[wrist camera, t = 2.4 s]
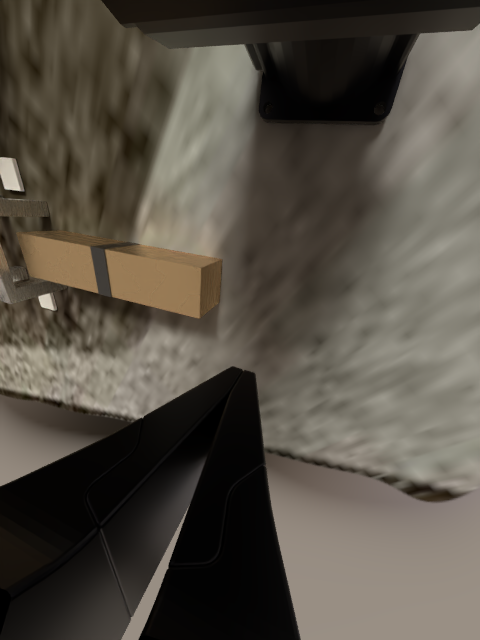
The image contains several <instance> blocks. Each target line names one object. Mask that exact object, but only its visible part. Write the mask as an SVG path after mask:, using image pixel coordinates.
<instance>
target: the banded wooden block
mask: <svg viewBox="0 0 480 640" xmlns="http://www.w3.org/2000/svg"><path fill="white" fill-rule="evenodd" d="M16 234H17V237H18V240H19V243H20V246H21V249H22V253H23V256H24V259H25V262H26V265H27V269H28V272H29V275H30V276H31V277H35V278H39V279H43V280H47V281H51V282H55V283H59V284H63V285H67V286H71V287H75V288H79V289H83V290H87V291H91V292H95V293H99V294H100V295H104V296H108V297H115V298H119V299H123V300H127V301H131V302H135V303H139V304H143V305H147V306H151V307H155V308H159V309H163V310H167V311H171V312H175V313H179V314H183V315H187V316H191V317H194V318H198V319H200V318H201V317H202V316H203V315H205V314H206V313H207V312H208V311H209V310H211V309H212V308H213V307H214V306H215V305H217V304H218V303H219V298H220V284H221V270H222V259H218V258H213V257H207V256H201V255H196V254H190V253H185V252H179V251H173V250H168V249H162V248H156V247H151V246H145V245H140V244H136V243H130V242H123V241H117V240H112V239H106V238H100V237H95V236H89V235H84V234H78V233H72V232H67V231H61V230H59V231H37V232H16Z"/></svg>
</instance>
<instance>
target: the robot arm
mask: <svg viewBox="0 0 480 640" xmlns="http://www.w3.org/2000/svg"><path fill="white" fill-rule="evenodd" d="M101 1H102V2H103V3H104V4H105V6H106V7H107V8H108V9H109V10H110V12H111V13H112V14H113V15H114V17H115V18H116V19H117V20H118V21H119V23H120V24H121V25H123V26H124V27H126V28H131V27H138V28H139V29H140V30H141V31H142V32H143V33H144V34H145V35H147V36H149V37H150V38H152V39H154V40H156V41H157V42H159V43H161V44H162V45H164V46H166V47H167V48H169V49H173V48H189V47H206V46H222V45H238V44H244V45H245V47H246V49H247V52H248V54H249V56H250V59H251V61H252V63H253V65H254V67H255V69H256V70H263V76H262V85H261V94H260V103H259V113H260V116H261V117H262V119H263V120H264V121H265V122H277V123H321V124H364V125H376V124H379V123H381V122H383V121H384V120H385V119H386V118H387V116H388V115H389V113H390V111H391V109H392V106H393V102H394V99H395V96H396V93H397V90H398V86H399V83H400V80H401V77H402V73H403V70H404V67H405V64H406V61H407V57H408V55H409V53H410V51H411V49H412V47H413V46H414V44H415V42H416V40H417V38H418V36H419V34H420V33H435V32H451V31H467V30H473V29H474V28H475V27H476V26H477V25H478V24H480V0H101ZM268 105H273V108H272V111H271V112H270V113H268V114H266V113H265V109H266V107H267V106H268ZM378 105H382V106H383V107H384V113H382V114H381V115H376V114H375V113H374V108H375V107H376V106H378ZM265 465H266V463H265V453H264V444H263V436H262V427H261V418H260V409H259V400H258V392H257V383H256V375H255V373H254V372H250V371H247V370H244V371H243V370H242V369H240V368H237V367H233V366H232V367H230V368H228V369H226V370H224V371H223V372H221V373H219V374H217V375H216V376H214V377H212V378H210V379H209V380H207V381H205V382H203V383H202V384H200V385H198V386H196V387H194V388H193V389H191V390H189V391H187V392H186V393H184V394H182V395H180V396H179V397H177V398H175V399H173V400H172V401H170V402H168V403H166V404H165V405H163V406H161V407H159V408H158V409H156V410H154V411H152V412H150V413H149V414H147V415H145V416H144V417H143V418H140V419H138V420H136V421H134V422H133V423H131V424H129V425H127V426H125V427H124V428H122V429H120V430H118V431H116V432H115V433H112V434H111V435H109V436H107V437H105V438H103V439H101V440H99V441H97V442H95V443H93V444H91V445H89V446H86V447H84V448H82V449H80V450H78V451H76V452H74V453H72V454H70V455H68V456H65V457H63V458H61V459H59V460H57V461H55V462H53V463H51V464H48V465H46V466H44V467H42V468H40V469H38V470H35V471H34V472H31V473H29V474H27V475H25V476H23V477H20V478H18V479H16V480H14V481H12V482H10V483H7V484H5V485H3V486H0V640H121V639H122V636H123V635H124V633H125V631H126V629H127V627H128V625H129V623H130V620H131V617H132V616H133V615H134V613H135V610H136V609H137V607H138V605H139V603H140V601H141V599H142V597H143V595H144V593H145V591H146V589H147V587H148V585H149V583H150V581H151V579H152V577H153V575H154V573H155V571H156V569H157V567H158V565H159V563H160V561H161V559H162V557H163V555H164V553H165V552H166V550H167V548H168V546H169V544H170V542H171V540H172V538H173V536H174V534H175V531H176V530H177V528H178V526H179V524H180V522H181V520H182V518H183V516H184V514H185V512H186V510H187V508H188V506H189V504H190V506H189V508H188V511H187V514H186V517H185V520H184V523H183V525H182V528H181V531H180V534H179V537H178V539H177V542H176V545H175V548H174V551H173V554H172V557H171V559H170V562H169V568H168V569H167V571H166V574H165V576H164V579H163V582H162V584H161V587H160V590H159V592H158V595H157V597H156V600H155V602H154V605H153V608H152V610H151V612H150V615H149V617H148V620H147V622H146V624H145V627H144V629H143V631H142V633H141V636H140V638H139V640H301V639H300V634H299V630H298V626H297V621H296V617H295V612H294V608H293V603H292V600H291V595H290V591H289V586H288V582H287V577H286V573H285V569H284V564H283V560H282V555H281V551H280V546H279V542H278V537H277V532H276V527H275V522H274V517H273V512H272V507H271V500H270V493H269V486H268V478H267V471H266V470H267V469H266V467H265ZM190 502H191V503H190Z"/></svg>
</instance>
